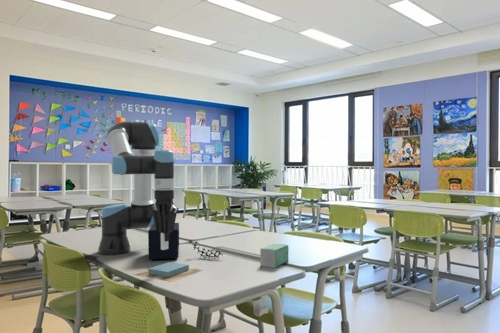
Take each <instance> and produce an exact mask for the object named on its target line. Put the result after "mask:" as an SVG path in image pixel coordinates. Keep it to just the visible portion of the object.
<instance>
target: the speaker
mask: <svg viewBox="0 0 500 333" xmlns="http://www.w3.org/2000/svg"><path fill="white" fill-rule="evenodd" d="M147 233H148V234H147V236H148V241H147V242H148V250H147V251H148V252H147V253H148V260H151V261H157V260H165V259H166V260H168V259H170V260H172V261H173V260H176V259H178V258H179V252H180V222H175V225H174V230H173V231H171V232H170V233H169V241H168V249H166V250H161V241H160V233H159V231H156V229H155V224H152V226H151V227H150V228H148V232H147Z"/></svg>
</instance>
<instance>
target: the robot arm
mask: <svg viewBox="0 0 500 333" xmlns="http://www.w3.org/2000/svg"><path fill="white" fill-rule="evenodd" d="M106 140H107V144H108V145H109V146H110V147H111V150H112V154H113V156H112V157H111V173H112V174H114V175H121V176H123V175H133V176H134V178H133V180H134V182H133V200H131V202H130V205H129V206H128V205H127V204H126V203H118V204H117V203H116V204H111V205H107V206H105V207H103V208H102V209H101V217H100V218H101V239H100V241H99V244H98V245H99V246H98V249H97V253H98V254H99V255H107V256H108V255H110V256H112V255H121V254H125V253H126V254H127V253H129V252H131V245H130V241H129V238H128V236H127V231H128V230H136V229H137V230H140V229H150V227H151V226H152V224H155V229H156V231H159V233H160V241H161V250H166V249H168V241H169V233H170V232H171V231H173V230H174V225H175V223H176V218H177V215H178V214H177V213H178V211H179V206H178V207H176V206H175V205H174V199H175V190H174V188H175V181H174V179H175V178H174V177H175V176H174V174H175V172H174V171H175V169H174V168H175V156H174V151H172V150H170V149H169V150H167V149H166V150H164V149H160V150H159V149H158V150H156V147H159V145H160V144H159V143H160V135H159V131H158V128H157V125H156V124H155V123H153V122H143V121H142V122H140V121H139V122H138V121H121V122H118V123H115V124H114V125H112V126H111V127H110V128H109V130H107V133H106ZM153 154H154V155H153ZM153 176H154V180H153V178H152V177H153ZM152 180H153V182H154V185H153V184H152ZM152 186H154V197H153V198H154V199H155V201H154V200H153V199H152V190H153V189H152Z"/></svg>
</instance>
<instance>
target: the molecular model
mask: <svg viewBox="0 0 500 333" xmlns="http://www.w3.org/2000/svg"><path fill="white" fill-rule="evenodd" d="M199 243H200V242H199V241H197V240H196V239H194V243H193V244H192V243H191V246H193V251H194V250H196V249H197V254H199V255H200V256H199V257H200V258H203V259H204V260H205V258H207V260H209V259H210V258H211V259H212V260H213V259H215V258H217V259H220V257H219V256H220V255H221V257H223V255H224V254H223V253H222V252H221V251H222V249H220V250H218V249H216V248H215V249H214V248H212V250H210V249H209V248H207V249H205V248H206V247H205V246H204V247H203V248H201V246H200V245H198V244H199ZM200 248H201V249H202V250H200ZM214 250H215V252H213V251H214ZM209 252H210V253H209ZM208 253H209V254H208ZM217 253H218V254H217ZM203 254H204V255H203Z"/></svg>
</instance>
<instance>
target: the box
mask: <svg viewBox="0 0 500 333" xmlns="http://www.w3.org/2000/svg"><path fill="white" fill-rule="evenodd" d="M259 250H260V252H259V253H260V254H259V255H260V260H259V261H260V263H259V264H260V266H261V267H266V268H273V269H275V268H277V267H280V266H282V265H283V264H285V263H287V262H289V245H288V244H284V243H272V244H270V245H267V246H263V247H262V248H260V249H259ZM286 261H287V262H286Z"/></svg>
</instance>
